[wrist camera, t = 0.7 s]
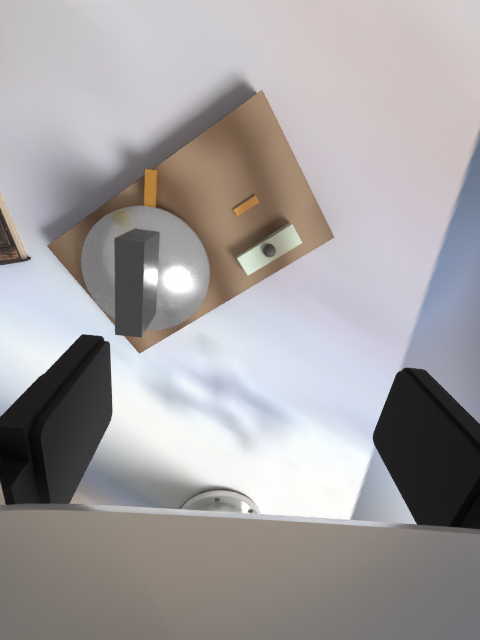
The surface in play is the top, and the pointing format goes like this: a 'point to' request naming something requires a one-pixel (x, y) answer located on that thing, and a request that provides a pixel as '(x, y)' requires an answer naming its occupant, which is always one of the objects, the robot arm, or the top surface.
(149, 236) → the cam dial
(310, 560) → the robot arm
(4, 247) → the hardcover book
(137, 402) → the top surface
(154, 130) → the top surface
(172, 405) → the top surface
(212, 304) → the levelling base
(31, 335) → the top surface
